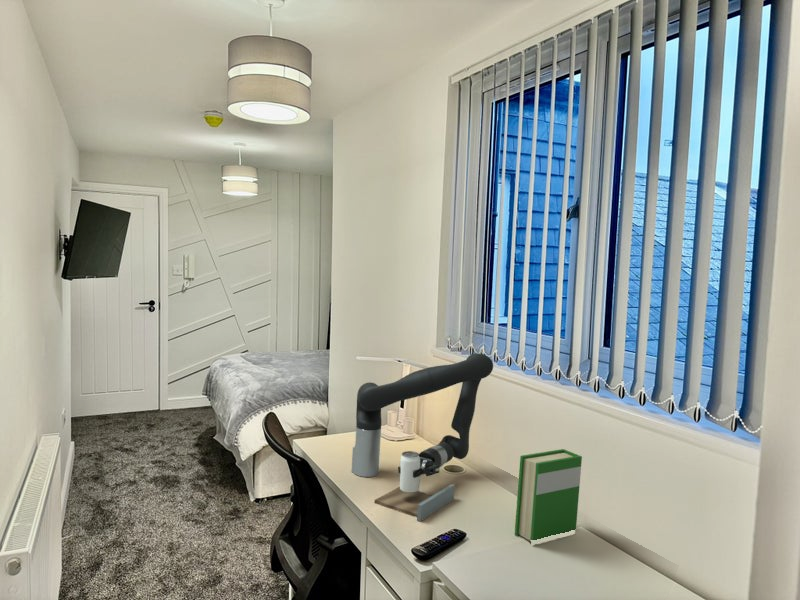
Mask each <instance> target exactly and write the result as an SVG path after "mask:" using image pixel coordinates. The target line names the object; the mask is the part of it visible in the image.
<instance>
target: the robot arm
mask: <svg viewBox="0 0 800 600" xmlns="http://www.w3.org/2000/svg"><path fill="white" fill-rule="evenodd" d="M492 360H493V359H491V358H490V356H488V355H486V354H483V353H479V352H477V353H476V352H475V353H472V354H470V355H468V356H467V358H466V359H464V360H461V361H459V362H456V363H452V364H451V363H450V364H444V365H443V364H442V365H435V366H430V367H426V368H425V367H424V368H422V369H419V370H415V371H413V372H411V373H408V374H407V375H405V376H403V377H401V378H399V379H398V380H397V381H394V382H391V383H386V384H382V385H378V384H376V383H375V382H365V383H363V384H362V385H361V386H360V387H359V388H358V391H357V394H356V411H355V412H356V413H355V414H356V416H355V418H356V422H355V424H356V425H355V443H354V445H353V447H352V453H351V454H352V455H351V457H352V458H351V473H353V474H354V475H356V476H359V477H365V478H371V477H376V476H378V475H379V470H380V457H381V456H380V455H381V453H380V452H381V437H382V436H381V435H382V409H383V408H386V407H388V406H390V405H393V404H395V403H398V402H401V401H405V400H410V399H413V398H414V399H415V398H418V397H421V396H425V395H429V394H432V393H435V392H438V391H441V390H444V389H447V388H449V387H452V386H455V385H457V384H460V383H462V384H461V389H460V393H459V398H458V400H457V404H456V408H455V410H454V414H453V417H452V420H451V424H450V425H451V426H450V428H451V429H452V430H454V431H455V432H456V433H457V434H458V435H459V437H457V436H453V435H447V434H446V435H444V436H443V437H442V439H441V441H440V442H439V443H438V444H436V445H433V446H430V447H428V448H427V449H424V450H422V451H420V452H418V453H419V457H420V469H418V470H414V471H413V477H414V478H416V477H418V476H425V477H430V476H433V475H436V474H437V475H438V474H439V473H440V469H441V468H442V467H443V466H444V465H445V464H447V463H449V462H450V461H452V459H453V458H456V459H458V460H463V459H465V458H466V457H467V455H468V454H469V450H470V430H471V425H472V423H473V420H474V419H473V418H474V415H475V411H476V400H477V393H478V389H479V386H480V383H481V382H482V379H485V378H487V377H489V375H491V374H492V372H493V369H494V363H493V361H492ZM397 472H398V474H400V473H401V467H400V465H399V466H398V467H397Z"/></svg>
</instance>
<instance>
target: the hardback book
mask: <svg viewBox="0 0 800 600" xmlns="http://www.w3.org/2000/svg"><path fill="white" fill-rule="evenodd" d="M582 459H583V456H582V455H579V454H577V453H574V452H572V451H570V450H567V449H565V448H561V449H555V450H549V451H541V452H535V453H529V454H524V455H520V459H519V460H520V461H519V470H518V471H519V472H518V473H519V474H518V485H517V497H516V498H517V499H516V511H515V512H516V513H515V525H514V536H515V537H519V536H521V537H523V538H525V539H526V540H527V541H529V540H537V539H541V538H544V537H548V536H551V535H556V534H560V533H565V532H569V531H571V530H575V529H576V530H577V523H578V510H579V508H578V507H579V498H580V497H579V496H580V485H581V475H582V471H581V470H582Z"/></svg>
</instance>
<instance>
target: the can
mask: <svg viewBox="0 0 800 600" xmlns="http://www.w3.org/2000/svg"><path fill="white" fill-rule="evenodd" d="M419 453H420V452H417V451H414V450H413V451H412V450H407V451H406V450H405V451H403V452H402V453H401V456H400V461H399V462H400V463H399V466H400V467H401V473H399V487H400V490H401V491H402V492H405V493H415V492H417V491H420V482H421V481H420V480H421V477H420V476H421V475H420V476H418V477H416V478H414V477H413V471H414V470H418V469H420V457H419Z"/></svg>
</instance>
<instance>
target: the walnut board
mask: <svg viewBox="0 0 800 600" xmlns="http://www.w3.org/2000/svg"><path fill="white" fill-rule="evenodd" d="M433 495H434V494H429V493H426V492H423V491H420V490H418V491H417V492H415V493H405V492H402V491H401V490H400V486H398V487H396V488H395V489H392V490H391V491H388V492H387V493H385V494H383V495H381V496H379V497H377V498H376V499H374V504H377V505H380V506H382V507H386V508H387V509H392V510H394V511H397V510H398V512H400V511H401V513H403V514H406V515H409V516H412V517H415V516H416V517H415V518H417V512H418V504H420V503H421V502H423V501H425V500H426V499H428V498H430V497H431V496H433Z"/></svg>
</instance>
